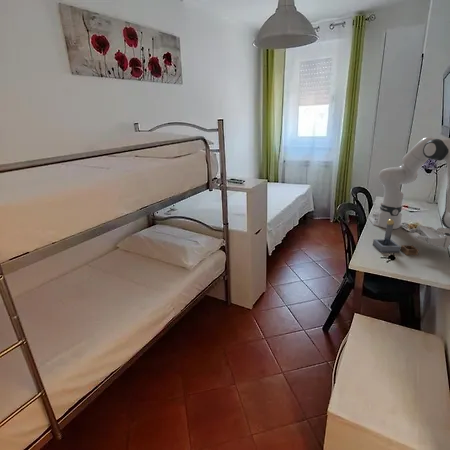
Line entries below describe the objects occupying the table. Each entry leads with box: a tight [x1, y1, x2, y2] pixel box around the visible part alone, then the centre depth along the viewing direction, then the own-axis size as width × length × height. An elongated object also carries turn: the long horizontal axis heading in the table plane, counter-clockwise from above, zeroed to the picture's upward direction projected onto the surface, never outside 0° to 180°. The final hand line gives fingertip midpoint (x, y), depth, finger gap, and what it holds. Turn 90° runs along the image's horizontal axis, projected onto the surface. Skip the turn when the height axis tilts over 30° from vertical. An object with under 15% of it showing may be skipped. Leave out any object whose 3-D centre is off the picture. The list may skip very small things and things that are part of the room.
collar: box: [400, 244, 420, 256], centre depth 165 cm, size 6×6×3 cm
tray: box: [372, 238, 401, 254], centre depth 169 cm, size 10×10×4 cm
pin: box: [383, 219, 394, 246], centre depth 167 cm, size 4×4×16 cm
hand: (413, 233), depth 164 cm, fingers open, 8 cm apart
